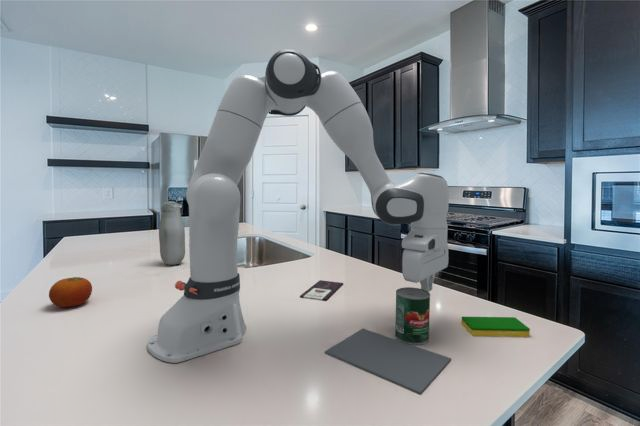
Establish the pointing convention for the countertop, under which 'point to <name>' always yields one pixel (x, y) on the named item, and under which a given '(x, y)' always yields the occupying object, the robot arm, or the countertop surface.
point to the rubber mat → (390, 359)
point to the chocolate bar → (321, 290)
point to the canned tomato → (412, 315)
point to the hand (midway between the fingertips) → (426, 291)
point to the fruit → (70, 292)
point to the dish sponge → (495, 326)
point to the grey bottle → (171, 234)
